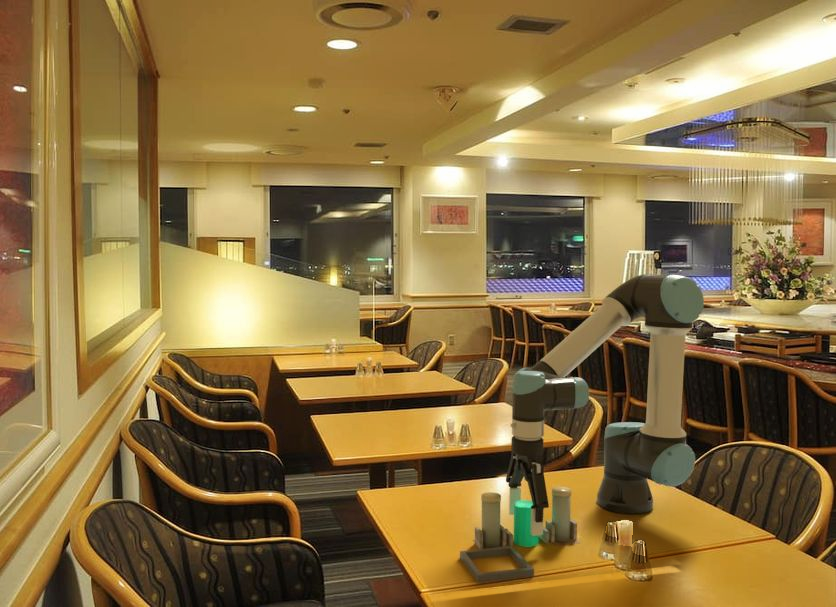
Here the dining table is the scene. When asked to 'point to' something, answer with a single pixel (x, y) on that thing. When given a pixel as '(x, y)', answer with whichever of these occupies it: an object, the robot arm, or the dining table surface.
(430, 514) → the dining table surface
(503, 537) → the fuse clips
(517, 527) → the candle
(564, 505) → the cream round cylinder
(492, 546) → the fuse
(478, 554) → the tray
